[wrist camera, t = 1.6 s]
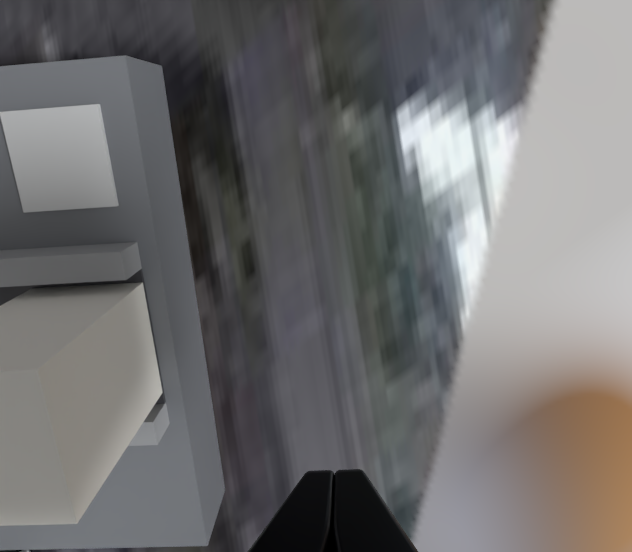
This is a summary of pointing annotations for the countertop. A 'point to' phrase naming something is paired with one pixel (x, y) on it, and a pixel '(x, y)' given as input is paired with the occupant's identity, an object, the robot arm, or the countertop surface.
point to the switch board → (112, 278)
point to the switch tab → (70, 395)
